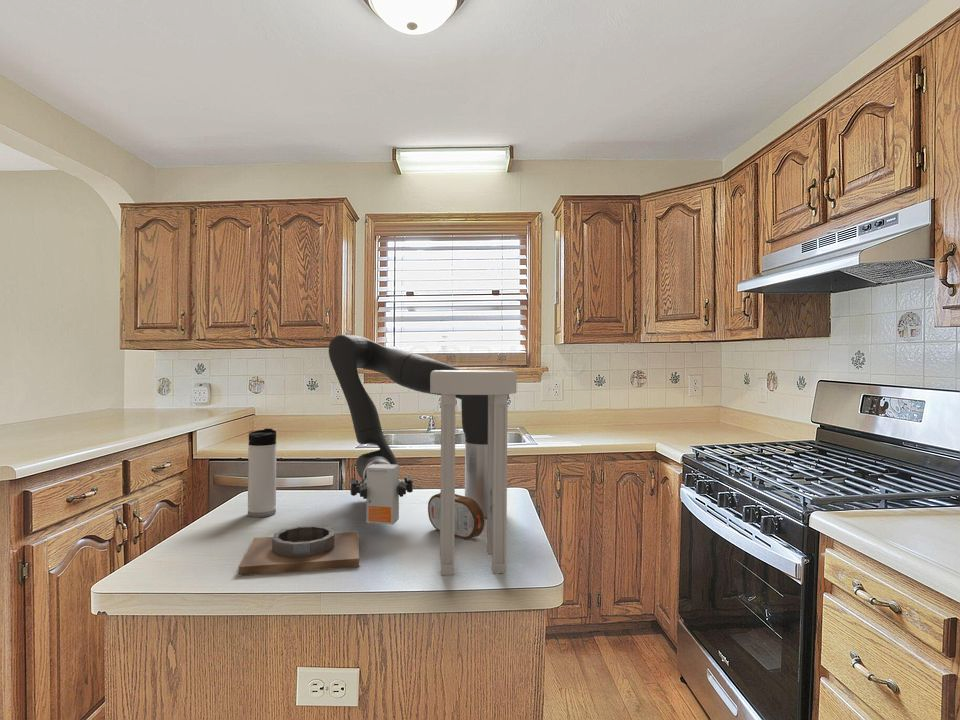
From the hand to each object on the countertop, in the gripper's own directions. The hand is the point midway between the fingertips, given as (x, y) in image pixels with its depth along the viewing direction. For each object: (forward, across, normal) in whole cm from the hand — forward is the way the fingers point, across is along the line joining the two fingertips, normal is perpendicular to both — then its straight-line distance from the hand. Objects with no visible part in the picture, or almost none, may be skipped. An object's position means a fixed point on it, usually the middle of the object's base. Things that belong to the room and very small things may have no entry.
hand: (383, 492), depth 116 cm
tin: (+2, +15, +10) cm, 18 cm away
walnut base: (+9, -15, +9) cm, 20 cm away
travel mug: (-23, -27, +9) cm, 37 cm away
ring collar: (+9, -15, +7) cm, 19 cm away
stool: (+19, +15, +9) cm, 26 cm away
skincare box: (-2, 0, +7) cm, 7 cm away
